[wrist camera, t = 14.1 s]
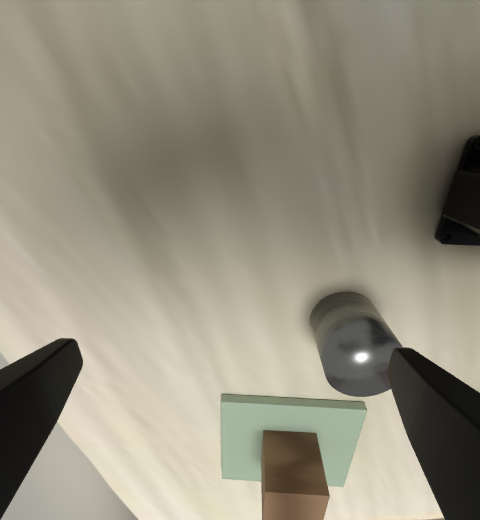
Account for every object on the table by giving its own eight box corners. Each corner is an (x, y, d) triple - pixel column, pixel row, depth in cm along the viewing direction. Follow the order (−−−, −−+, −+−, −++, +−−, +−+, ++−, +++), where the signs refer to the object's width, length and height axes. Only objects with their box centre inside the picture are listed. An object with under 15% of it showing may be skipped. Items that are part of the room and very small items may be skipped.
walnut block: (316, 432, 26) (329, 496, 21) (310, 464, 28) (321, 528, 23) (263, 429, 26) (265, 492, 22) (261, 461, 28) (262, 524, 24)
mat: (364, 402, 25) (367, 410, 24) (341, 478, 30) (343, 486, 29) (222, 394, 26) (221, 401, 25) (222, 470, 30) (221, 478, 30)
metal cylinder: (382, 292, 20) (419, 338, 16) (367, 345, 22) (396, 398, 18) (314, 290, 21) (331, 334, 16) (306, 342, 23) (319, 394, 18)
